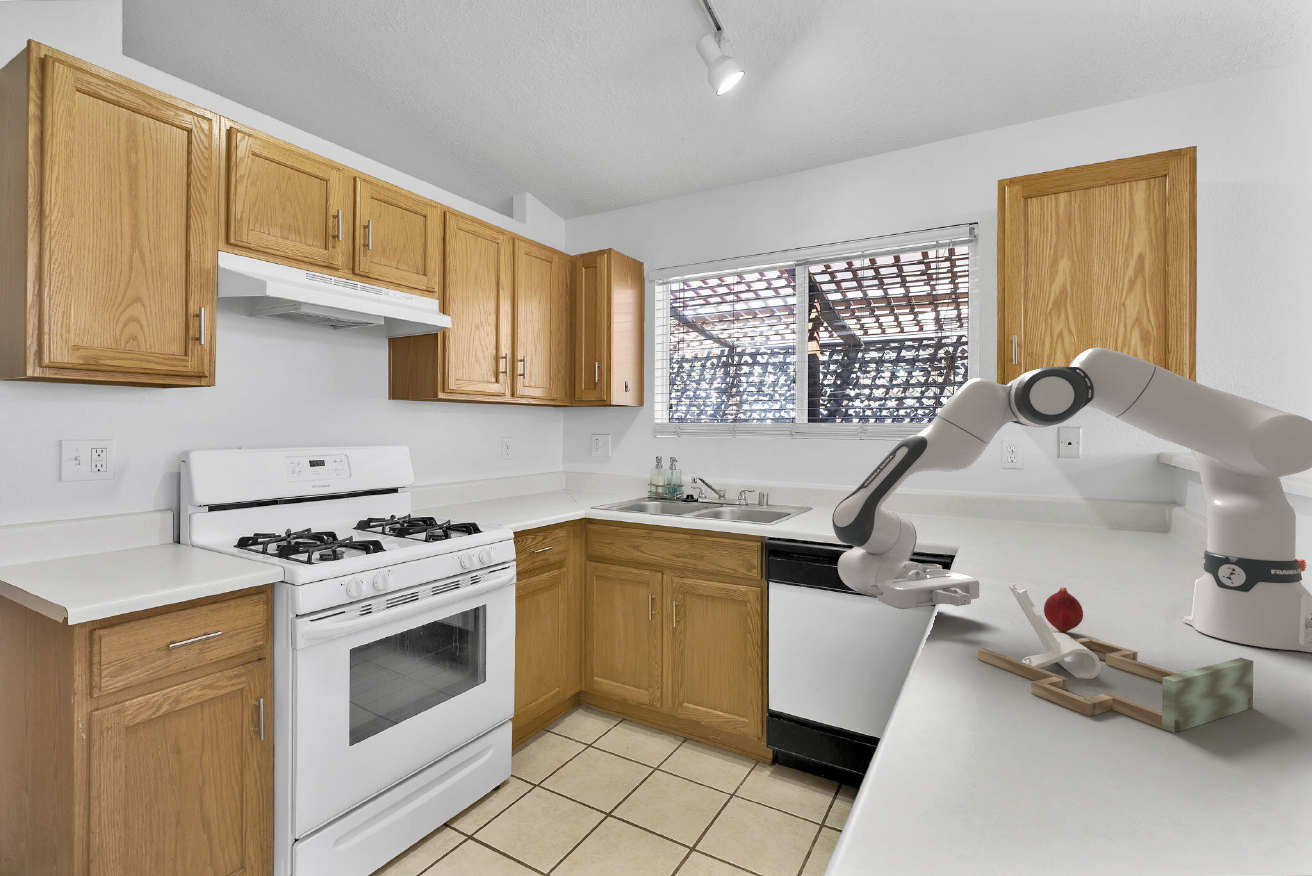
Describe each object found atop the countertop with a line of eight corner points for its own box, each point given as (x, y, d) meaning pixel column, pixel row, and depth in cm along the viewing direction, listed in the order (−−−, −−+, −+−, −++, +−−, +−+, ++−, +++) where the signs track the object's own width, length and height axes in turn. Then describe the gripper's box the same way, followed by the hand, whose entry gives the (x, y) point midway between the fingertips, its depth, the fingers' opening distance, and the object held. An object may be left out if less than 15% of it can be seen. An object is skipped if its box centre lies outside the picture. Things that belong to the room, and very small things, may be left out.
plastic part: (1100, 680, 87) (1102, 598, 87) (1023, 674, 89) (1025, 594, 89) (1075, 661, 95) (1076, 586, 95) (1004, 655, 97) (1006, 582, 97)
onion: (1089, 639, 105) (1089, 592, 105) (1052, 636, 106) (1052, 590, 106) (1073, 628, 111) (1074, 584, 111) (1038, 626, 112) (1038, 582, 112)
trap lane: (1069, 641, 104) (1070, 605, 104) (1271, 701, 80) (1271, 655, 80) (956, 663, 93) (956, 623, 93) (1150, 740, 70) (1151, 687, 70)
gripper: (862, 571, 116) (920, 588, 103) (941, 563, 124) (1004, 577, 112) (862, 605, 116) (920, 626, 103) (941, 594, 124) (1004, 612, 112)
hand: (965, 600), depth 108 cm, fingers closed
